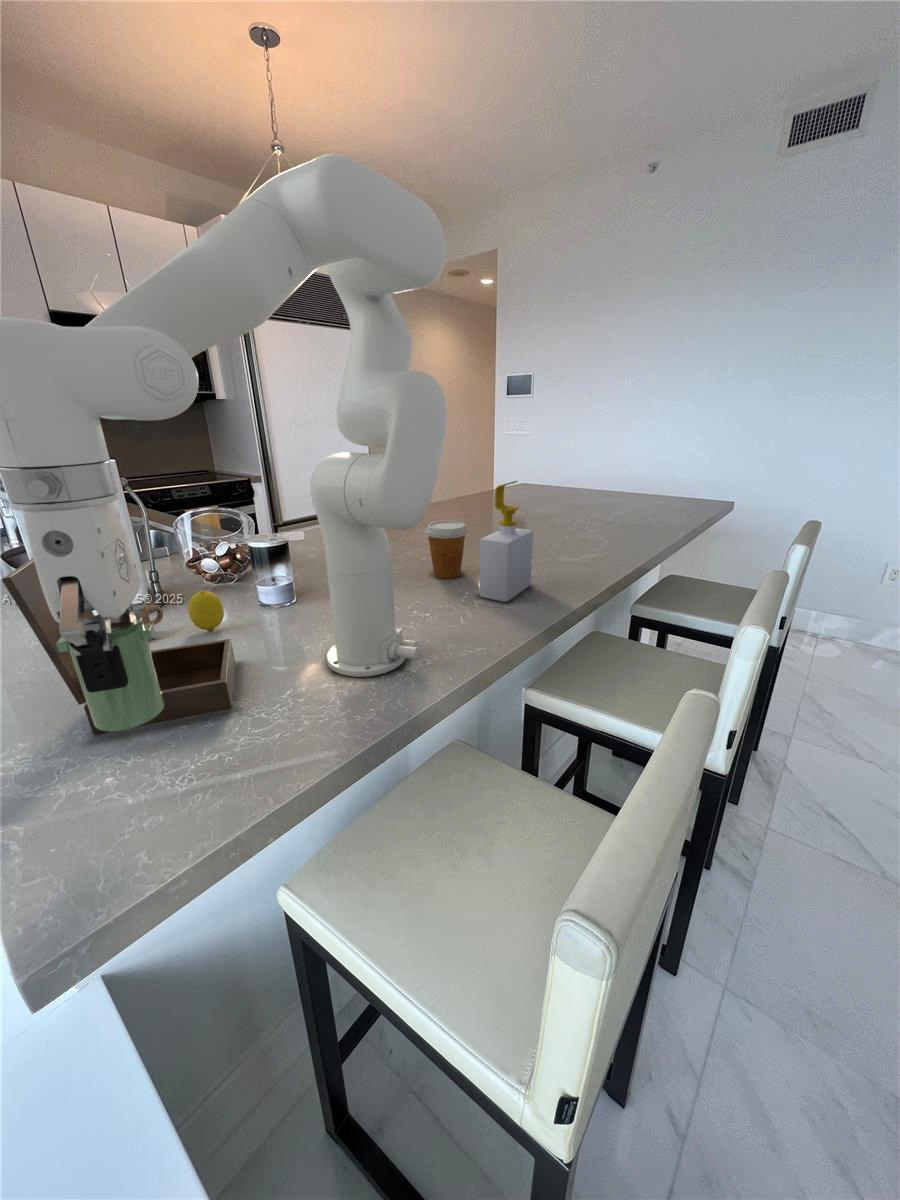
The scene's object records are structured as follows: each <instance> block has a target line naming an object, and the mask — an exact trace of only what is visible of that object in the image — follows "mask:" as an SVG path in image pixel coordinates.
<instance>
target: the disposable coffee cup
mask: <svg viewBox="0 0 900 1200" xmlns="http://www.w3.org/2000/svg"><path fill="white" fill-rule="evenodd" d="M467 532H468V529H467V528H466V524H465V523H464V522H462V521H457V520H437V521H433V522H430V523H428V524H427V528H426V529H425V533H426V536H427V537H428V543H429V551H430V556H431V563H432V569H433V575H434V577H436V578H439V579H454V578H457V577H460V575H461V573H462V564H463V557H464V547H465V539H466V535H467Z"/></svg>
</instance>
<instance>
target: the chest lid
mask: <svg viewBox="0 0 900 1200" xmlns="http://www.w3.org/2000/svg"><path fill="white" fill-rule="evenodd" d="M1 582H2V583H3V585H4V586H5V588H6V589H7V591H8V593H9V594H10V596H11V597H12V599H13V601H14V603H15V604H16V605H17V607H18V609H19V610H20V612H21V614H22V615H23V617H24V618H25V620H26V622H27V624H28V625H29V627H30V628H31V630H32V631H33V633H34V634H35V635H34V636H36V638H37V640H38V641H39V643H40V645H41V646H42V647H43V650H44V651H45V652H46V655H48V658H49V659H50V661H51V663H52V664H53V665H54V667H55V668H56V670H57V672H58V673H59V675H60V677H61V679H62V680H63V682H64V683H65V685H66V686H67V688H68V690H69V691H70V693H71V694H72V696H73V698H74V699H75V701H76V702H77V704H78V705H79V706H81V705H83V704H86V703H87V702H86V699H85V696H84V693H83V690H82V687H81V684H80V681H79V678H78V675H77V672H76V669H75V666H74V663H73V660H72V657H71V654H70V651H67V652H59V651H58V648H57V645H56V643H57V641H58V640H59V639H60V638H61V637H62V636H61V634H60V623H58V622H57V621H55V619H54V618H53V616H52V614H51V612H50V609H49V607H48V604H47V602H46V599H45V596H44V593H43V590H42V587H41V583H40V580H39V577H38V573H37V570H36V566H35V562H34V559H33V557H32V558H31V559H29V560H27V561H26V562H25V563H23V564H22V565H20V566H18V568H16V569H14V570H13V571H12V572H10V573H8V574H7V575H5V576H3V578H1ZM92 616H95V614H94V612H93V611H86V612H84V618H86V617H92Z"/></svg>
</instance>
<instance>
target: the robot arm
mask: <svg viewBox="0 0 900 1200" xmlns="http://www.w3.org/2000/svg"><path fill="white" fill-rule="evenodd" d="M447 247H448V246H447V239H446V234H445V231H444V228H443V225H442V224H441V221H440V219H439V218H438V216H437V214H436V213H435V211H434V210H433V209H432V208H431V207H430V206H429V205H428V204H427V203H426V202H425V201H423V200H422V199H421V198H419V196H417V195H415V194H413V193H412V192H410V191H409V190H407V189H406V188H404V187H403V186H401V185H399V184H398V183H396V182H394V181H393V180H391V179H390V178H388V177H387V176H385V175H384V174H382V173H380V172H379V171H377V170H375V169H373V168H371V167H369V166H368V165H366V164H364V163H362V162H360V161H358V160H355V159H353V158H351V157H348V156H345V155H342V154H337V153H330V154H329V153H327V154H323V155H321V156H319V157H316V158H314V159H312V160H310V161H307V162H304V163H302V164H300V165H297V166H295V167H292V168H290V169H288V170H285V171H283V172H281V173H278V174H277V175H275V176H272V177H271V178H270V179H268V180H267V181H266V182H264V183H263V184H262V185H260V186H259V187H258V188H257V189H256V190H254V191H253V192H252V193H251V194H250V195H249V196H247V197H246V198H245V199H243V201H241V203H239V204H237V206H235V208H233V209H232V210H231V211H230V212H229V213H228V214H226V215H225V216H224V217H223V218H222V219H220V220H219V221H218V222H216V223H215V224H214V225H213V226H211V228H209V229H208V230H207V231H206V232H204V233H203V234H202V235H201V236H199V237H198V238H196V240H194V241H193V242H192V243H190V244H189V245H187V246H186V247H185V248H184V249H181V251H179V252H178V253H177V254H175V255H174V256H172V257H171V258H170V259H168V260H167V262H164V264H163V265H161V266H160V268H158V269H157V270H156V271H154V272H153V273H151V275H149V276H148V277H146V278H145V279H144V280H142V281H141V282H139V283H138V284H136V285H135V286H133V287H132V288H131V289H130V290H128V291H127V292H125V293H124V294H122V295H121V296H120V297H118V298H117V299H116V300H115V301H114V302H112V303H111V304H110V305H108V307H106V308H105V309H103V310H102V311H101V312H100V313H99V314H97V315H96V316H95V317H94V318H92V319H91V320H89V322H88V323H87V324H85V325H84V326H63V325H59V324H56V323H53V322H49V321H43V320H37V319H31V318H22V317H10V316H9V317H8V316H0V477H1V480H2V483H3V486H4V489H5V492H6V494H7V498H8V500H9V504H10V506H11V509H12V510H14V511H20V512H21V511H22V515H23V519H24V524H25V529H26V533H27V538H28V542H29V547H30V551H31V554H32V558H33V559H34V562H35V566H36V570H37V573H38V577H39V580H40V583H41V587H42V590H43V593H44V596H45V599H46V602H47V604H48V607H49V609H50V612H51V614H52V616H53V618H54V619H55V621H57V622H58V623H60V634H61V636H62V637H63V638H65V639H66V640H67V642H69V643H68V644H70V646H71V647H72V652H73V654H74V656H76V659H77V662H78V665H79V668H80V671H81V674H82V677H83V680H84V683H85V686H86V689H87V691H88V692H98V691H104V690H110V689H116V688H122V687H125V686H127V684H128V677H127V674H126V670H125V667H124V663H123V660H122V656H121V653H120V649H119V646H113V639H112V632H111V625H110V618H109V616H111V617H112V618H114V619H115V618H119V617H120V616H122V615H123V613H124V612H125V611H127V612H135V610H134V606H133V604H132V603H133V601H134V599H135V598H136V597H137V595H138V593H139V591H140V589H141V578H140V574H139V572H138V568H137V565H136V562H135V558H134V556H133V552H132V549H131V546H130V542H129V540H128V536H127V533H126V530H125V527H124V524H123V521H122V519H121V516H120V513H119V511H118V509H117V506H116V504H115V502H116V501H118V500H119V499H120V494H119V489H118V485H117V481H116V478H115V474H114V471H113V466H112V462H111V460H110V459H111V458H110V454H109V452H108V447H107V442H106V439H105V435H104V432H103V428H102V424H101V423H102V422H101V420H100V418H102V419H106V420H114V421H115V420H116V421H119V420H121V421H122V420H125V421H127V420H134V421H163V420H168V419H171V418H175V417H176V416H179V415H180V414H182V413H184V412H185V411H187V410H188V409H189V408H190V406H191V405H193V403H194V402H195V400H196V397H197V394H198V392H199V383H200V382H199V381H200V380H199V373H198V369H197V367H196V365H195V362H194V360H193V359H192V358H194V357H195V356H197V355H199V354H201V353H203V352H204V351H206V350H208V349H210V348H211V349H212V348H214V347H216V346H218V345H221V344H223V343H226V342H229V341H231V340H234V339H237V338H239V337H242V336H244V335H245V334H247V333H249V332H251V331H253V330H255V329H256V328H258V327H260V326H262V325H263V324H265V323H266V322H267V320H268V319H270V318H271V316H272V315H273V314H274V313H275V312H276V311H277V310H278V309H279V308H280V307H282V305H283V304H284V303H285V302H286V301H287V300H288V299H289V298H290V296H292V295H293V294H294V293H295V292H296V291H297V290H298V289H299V288H300V287H301V286H302V285H303V284H304V283H305V282H306V281H307V280H308V279H309V278H310V277H311V275H313V274H314V273H315V272H316V271H317V270H319V269H320V268H322V267H324V266H326V271H327V273H328V276H329V279H330V281H331V283H332V285H333V288H334V289H335V291H336V293H337V294H338V297H339V299H340V300H341V303H342V305H343V307H344V310H345V312H346V315H347V319H348V322H349V328H350V340H349V347H348V352H347V358H346V363H345V368H344V372H343V378H342V380H341V381H342V382H341V387H340V390H339V391H340V392H339V396H338V401H337V408H336V424H337V428H338V430H339V432H340V434H341V436H343V437H344V439H346V440H347V441H349V442H350V443H353V444H355V445H359V446H362V447H373V448H374V447H375V448H385V453H384V454H377V453H376V454H375V453H370V452H369V453H368V452H350V451H349V452H346V451H345V452H336V453H332V454H330V455H328V456H326V457H324V458H323V459H322V460H320V461H319V462H318V463H317V465H316V466H315V468H314V469H313V471H312V474H311V478H310V485H309V486H310V496H311V501H312V505H313V508H314V511H315V514H316V519H317V520H318V524H319V528H320V531H321V536H322V542H323V548H324V553H325V554H324V555H325V563H326V574H327V583H328V591H329V600H330V608H331V609H330V610H331V617H332V628H333V635H334V645H333V646H331V647H330V648H329V650H328V651H327V654H326V663H327V666H328V667H329V669H330V670H331V671H334V673H337V674H339V675H342V676H347V677H354V678H364V677H374V676H380V675H382V674H386V673H388V672H392V671H394V670H395V669H397V668H398V667H400V666H401V665H402V664H404V662H405V660H411V661H412V660H413V661H416V660H418V658H419V655H420V648H419V647H418V641H417V640H411V639H405V638H404V637H403V629H402V628H398V627H397V628H396V618H395V617H396V616H395V615H396V614H395V597H394V581H393V564H392V562H393V561H392V551H391V546H390V545H391V544H390V541H389V538H388V536H387V533H386V531H385V529H386V530H387V529H388V530H396V531H405V530H410V529H413V528H414V527H416V526H418V525H419V524H420V523H421V522H422V521H423V519H424V517H426V514H427V513H428V510H429V507H430V505H431V502H432V501H431V500H432V498H433V493H434V489H435V484H436V480H437V475H438V471H439V466H440V462H441V458H442V453H443V448H444V443H445V439H446V434H447V428H448V405H447V399H446V395H445V393H444V390H443V388H442V386H441V385H440V383H439V382H438V380H437V379H436V378H434V377H433V376H432V375H431V374H428V373H427V372H424V371H418V370H410V367H411V361H412V356H413V355H412V354H413V340H412V335H411V332H410V329H409V327H408V325H407V322H406V321H405V318H404V317H403V315H402V313H401V312H400V310H399V308H398V306H397V304H396V302H395V300H394V298H393V296H392V295H393V294H398V293H403V292H409V291H417V290H420V289H424V288H426V287H429V286H431V285H432V284H434V283H435V282H436V281H437V280H438V279H439V277H440V276H441V274H442V273H443V271H444V269H445V265H446V261H447V252H448V250H447ZM86 611H92V612H93V611H95V612H96V613H97V615H100V616H95V615H94V617H86V618H84V612H86ZM91 624H99V629H100V635H99V634H97V633H96V632H95V631H94V630H88V627H86V625H91Z"/></svg>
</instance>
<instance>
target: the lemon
mask: <svg viewBox="0 0 900 1200" xmlns="http://www.w3.org/2000/svg"><path fill="white" fill-rule="evenodd" d="M188 615H189V618H190V621H191V622H192V623H193V625H194V626H195V627H197V628H198V629H201V630H203V631H207V632H209V633H210V632H213V631H214V630H215V628H217V627H219V626H220V625H221V623H222V622H223V619H224V616H225V611H224V606H223V603H222V601H221V599H220V598H219V596H218V595H216V594H215V593H214V592H211V591H208V590H205V589H200V590H199V591H198V592H196V593H195V594H193V596H191V598H190V599H189V603H188Z"/></svg>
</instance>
